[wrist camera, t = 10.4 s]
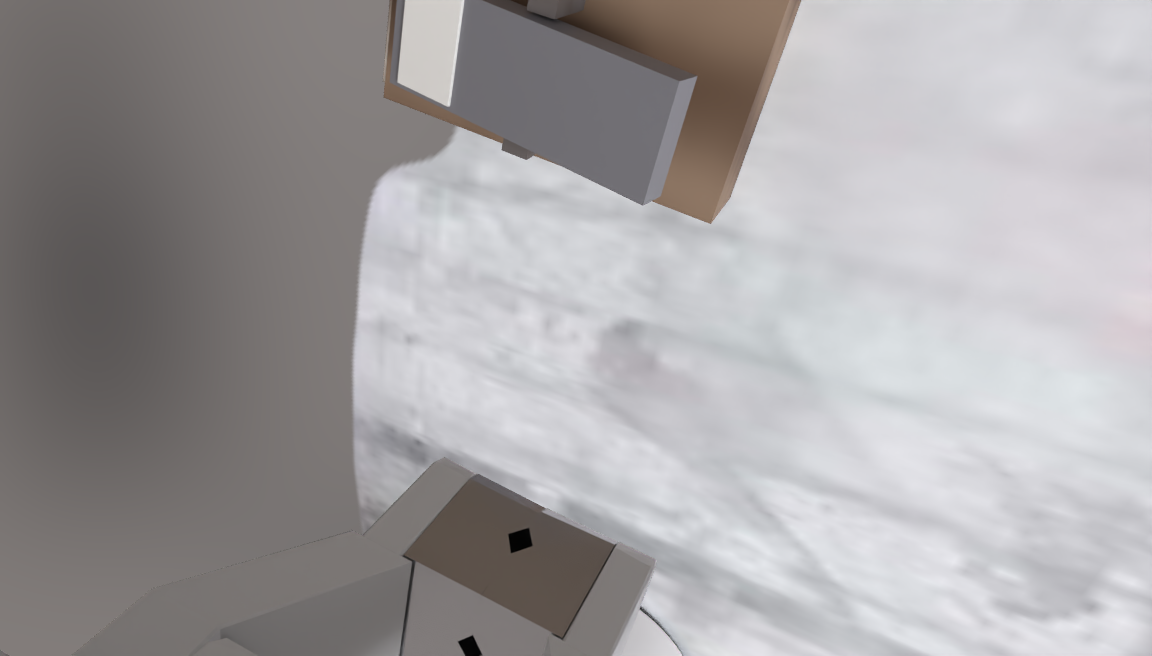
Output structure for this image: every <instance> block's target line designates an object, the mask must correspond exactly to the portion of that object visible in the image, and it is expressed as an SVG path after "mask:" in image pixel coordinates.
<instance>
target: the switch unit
mask: <svg viewBox="0 0 1152 656" xmlns="http://www.w3.org/2000/svg"><path fill="white" fill-rule="evenodd" d="M511 1H513V2H516V3H518V4H521V5H523V6H526V7H527V10H528V11H531V12H534V13H537V14H540V15H543V16H545V17H548V18H551V19H554V20H555V19H558V20H560V21H563V22H565V23H568V24H570V25H573V26H575V27H577V28H580V29H582V30H585V31H587V32H590V33H592V34H595V35H597V36H600V37H602V38H605V39H607V40H610V41H612V42H615V43H617V44H620V45H622V46H624V47H627V48H629V49H632V50H634V51H637V52H639V53H642V54H644V55H647V56H649V57H652V58H654V59H657V60H659V61H662V62H664V63H667V64H669V65H671V66H674V67H676V68H679V69H681V70H684V71H686V72H689V73H691V74H694V75H696V76H697V79H696V83H695V86H694V89H693V92H692V96H691V99H690V102H689V106H688V109H687V112H686V115H685V119H684V122H683V125H682V128H681V132H680V135H679V138H678V141H677V145H676V148H675V151H674V154H673V158H672V161H671V164H670V167H669V171H668V174H667V177H666V180H665V184H664V187H663V190H662V194H661V196H660V197H658V198H656V199H655V200H653V202H655V203H658V204H660V205H663V206H666V207H668V208H671V209H673V210H676V211H679V212H681V213H684V214H686V215H689V216H692V217H694V218H697V219H699V220H702V221H704V222H707V223H710V224H711V223H712V221H713V220H714V219H715V217H716V216H717V215H718V213H719V212H720V211H721V209H722V208H723V207H724V205H725V204H726V203H727V201H728V200H729V199H730V197H731V194H732V191H733V188H734V185H735V183H736V180H737V177H738V174H739V172H740V169H741V166H742V163H743V160H744V158H745V155H746V152H747V149H748V147H749V144H750V141H751V138H752V136H753V133H754V130H755V127H756V124H757V122H758V119H759V116H760V113H761V111H762V108H763V105H764V102H765V99H766V97H767V94H768V91H769V88H770V86H771V83H772V80H773V77H774V74H775V72H776V69H777V66H778V63H779V61H780V58H781V55H782V52H783V50H784V47H785V44H786V41H787V38H788V36H789V33H790V30H791V27H792V25H793V22H794V19H795V16H796V13H797V11H798V8H799V5H800V2H801V0H511ZM396 5H397V0H390V4H389V15H388V27H387V38H386V50H385V62H384V74H383V81H384V82H385V88H384V98H387V99H389V100H392V101H394V102H397V103H400V104H402V105H405V106H408V107H410V108H412V109H415V110H418V111H420V112H423V113H425V114H428V115H431V116H433V117H436V118H438V119H441V120H443V121H446V122H449V123H451V124H454V125H456V126H459V127H462V128H464V129H467V130H469V131H472V132H474V133H477V134H480V135H482V136H485V137H487V138H490V139H493V140H495V141H498V142H500V143H503V145H502V150H503V151H505V152H508V153H510V154H513V155H515V156H518V157H520V158H523V159H526V160H527V159H529V158H530V157H532V156H536V157H539V158H542V159H544V160H547V161H549V162H552V161H550V160H548V159H546V158H544V157H542V156H540V155H538V154H536V153H534V152H532V151H530V150H528V149H525V148H523V147H521V146H519V145H517V144H515V143H513V142H511V141H509V140H507V139H505V138H503V137H501V136H499V135H497V134H495V133H493V132H491V131H488V130H486V129H484V128H482V127H480V126H478V125H476V124H474V123H472V122H470V121H468V120H466V119H464V118H462V117H460V116H458V115H456V114H453V113H451V112H449V111H447V110H445V109H443V108H441V107H439V106H437V105H435V104H433V103H431V102H429V101H427V100H425V99H423V98H421V97H418V96H416V95H414V94H412V93H410V92H408V91H406V90H404V89H402V88H400V87H398V86H396V85H394V84H392V83H390V72H391V61H392V50H393V38H394V27H395V16H396ZM552 163H554V162H552ZM555 164H556V163H555ZM557 165H558V164H557ZM562 167H563V166H562Z"/></svg>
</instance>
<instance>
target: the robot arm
mask: <svg viewBox="0 0 1152 656" xmlns="http://www.w3.org/2000/svg"><path fill="white" fill-rule="evenodd" d="M656 564H657V561H656V559H654V558H652V557H650V556H648V555H645V554H643V553H641V552H639V551H637V550H635V549H633V548H631V547H628V546H626V545H624V544H622V543H620V542H618V541H616V540H614V539H612V538H609V537H607V536H605V535H603V534H601V533H599V532H597V531H595V530H592V529H590V528H588V527H586V526H584V525H582V524H580V523H577V522H575V521H573V520H571V519H569V518H567V517H565V516H563V515H560V514H558V513H556V512H554V511H552V510H550V509H548V508H547V509H546V508H544V507H542V506H540V505H538V504H536V503H534V502H532V501H530V500H528V499H526V498H524V497H522V496H520V495H519V494H517V493H515V492H513V491H511V490H509V489H507V488H505V487H503V486H501V485H499V484H497V483H495V482H493V481H491V480H489V479H487V478H485V477H483V476H482V475H480V474H476V473H474V472H472V471H470V470H468V469H466V468H464V467H462V466H460V465H459V464H457V463H455V462H453V461H451V460H449V459H447V458H445V457H444V458H442V459H440V460H438V461H436V462H434V463H433V464H432V465H431V466H430V467H429V468H428V469H427V470H426V471H425V472H424V473H423V474H422V475H421V476H420V477H419V478H418V479H417V480H416V481H415V482H414V483H413V484H412V485H411V486H410V487H409V488H408V489H407V490H406V491H405V492H404V493H403V494H402V495H401V496H400V497H399V499H398V500H397V501H396V502H395V503H394V504H393V505H392V506H391V507H390V508H389V509H388V510H387V511H386V512H385V513H384V514H383V515H382V516H381V517H380V518H379V519H378V520H377V521H376V522H375V523H374V524H373V525H372V526H371V527H370V528H369V529H368V530H367V531H366V532H365V533H364V534H363V535H361V534H359V533H357V532H355V531H349V532H345V533H342V534H339V535H335V536H332V537H328V538H325V539H321V540H318V541H314V542H311V543H308V544H304V545H301V546H297V547H294V548H290V549H287V550H284V551H280V552H277V553H273V554H270V555H266V556H263V557H259V558H256V559H252V560H249V561H246V562H242V563H239V564H235V565H232V566H228V567H225V568H221V569H218V570H215V571H211V572H208V573H204V574H201V575H197V576H194V577H190V578H188V579H184V580H180V581H177V582H174V583H170V584H167V585H163V586H159V587H156V588H153V589H151V590H150V591H149V592H148V593H146V594H145V595H144V596H143V597H141V598H140V599H139V600H138V601H137V602H135V603H134V604H133V605H132V606H131V607H129V608H128V609H127V610H126V611H124V612H123V613H122V614H121V615H120V616H118V617H117V618H116V619H115V620H113V621H112V622H111V623H110V624H109V625H107V626H106V627H105V628H104V629H103V630H101V631H100V632H99V633H98V634H96V635H95V636H94V637H93V638H92V639H90V640H89V641H88V642H87V643H86V644H84V645H83V646H82V647H81V648H80V649H78V650H77V651H76V652H75V653H74V654H72V655H71V656H682V654H681V652H680V651H679V649H678V648H677V647H676V645H675V644H674V643H673V641H672V640H671V639H670V638H669V636H668V635H667V634H666V633H665V632H664V631H663V630H662V629H661V628H660V627H659V626H658V625H657V624H656V623H655V622H654V621H653V620H652V619H651V618H649V617H648V616H647V615H646V614H645V613H643V612H642V611H641V610H640V607H641V604H642V601H643V599H644V596H645V594H646V591H647V588H648V586H649V583H650V581H651V578H652V575H653V573H654V570H655V567H656ZM0 656H9V655H8V654H6V653H4V652H3V651H1V650H0Z"/></svg>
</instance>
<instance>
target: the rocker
mask: <svg viewBox="0 0 1152 656" xmlns="http://www.w3.org/2000/svg"><path fill="white" fill-rule="evenodd" d="M696 79H697V76H696V75H694V74H691V73H689V72H686V71H684V70H681V69H679V68H676V67H674V66H671V65H669V64H667V63H664V62H662V61H659V60H657V59H654V58H652V57H649V56H647V55H644V54H642V53H639V52H637V51H634V50H632V49H629V48H627V47H624V46H622V45H620V44H617V43H615V42H612V41H610V40H607V39H605V38H602V37H600V36H597V35H595V34H592V33H590V32H587V31H585V30H582V29H580V28H577V27H575V26H573V25H570V24H568V23H565V22H563V21H560V20H558V19H555V20H554V19H551V18H548V17H545V16H543V15H540V14H537V13H534V12H531V11H528V10H527V7H526V6H523V5H521V4H518V3H516V2H513V1H511V0H397V5H396V16H395V27H394V38H393V50H392V61H391V72H390V83H392V84H394V85H396V86H398V87H400V88H402V89H404V90H406V91H408V92H410V93H412V94H414V95H416V96H418V97H421V98H423V99H425V100H427V101H429V102H431V103H433V104H435V105H437V106H439V107H441V108H443V109H445V110H447V111H449V112H451V113H453V114H456V115H458V116H460V117H462V118H464V119H466V120H468V121H470V122H472V123H474V124H476V125H478V126H480V127H482V128H484V129H486V130H488V131H491V132H493V133H495V134H497V135H499V136H501V137H503V138H505V139H507V140H509V141H511V142H513V143H515V144H517V145H519V146H521V147H523V148H525V149H528V150H530V151H532V152H534V153H536V154H538V155H540V156H542V157H544V158H546V159H548V160H550V161H552V162H554V163H556V164H558V165H560V166H563V167H565V168H567V169H569V170H571V171H573V172H575V173H577V174H579V175H581V176H583V177H585V178H587V179H589V180H591V181H593V182H595V183H598V184H600V185H602V186H604V187H606V188H608V189H610V190H612V191H614V192H616V193H618V194H620V195H622V196H624V197H626V198H628V199H630V200H632V201H635V202H637V203H639V204H641V205H645V204H647V203H649V202H651V201H653V200H655V199H656V198H658V197H660V196H661V194H662V190H663V187H664V184H665V180H666V177H667V174H668V171H669V167H670V164H671V161H672V158H673V154H674V151H675V148H676V145H677V141H678V138H679V135H680V132H681V128H682V125H683V122H684V119H685V115H686V112H687V109H688V106H689V102H690V99H691V96H692V92H693V89H694V86H695V83H696Z"/></svg>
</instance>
